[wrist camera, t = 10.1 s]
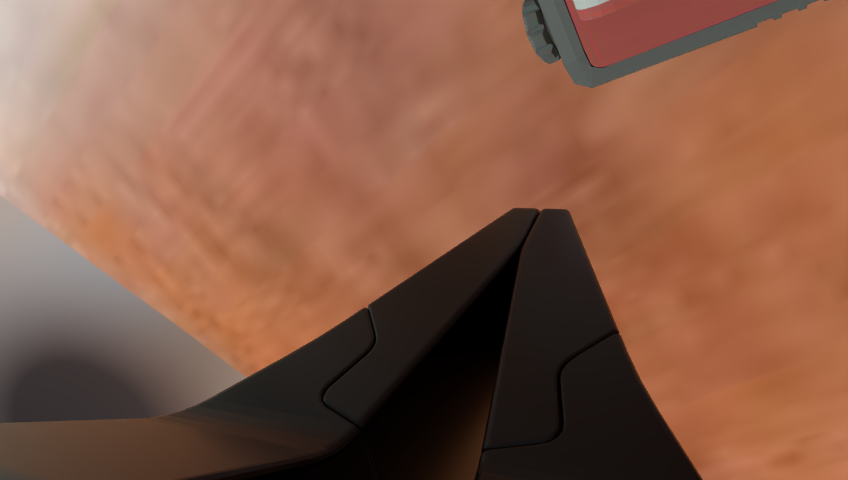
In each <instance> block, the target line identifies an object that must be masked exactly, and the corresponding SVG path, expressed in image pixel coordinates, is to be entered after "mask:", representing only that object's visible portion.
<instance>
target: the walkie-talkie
mask: <svg viewBox="0 0 848 480" xmlns="http://www.w3.org/2000/svg"><path fill="white" fill-rule="evenodd" d="M815 1H818V0H525V1H524V3H523V6H522V14H523V20H524V24H525V28H526V32H527V35H528V38H529V40H530V43H531V45H532V47H533V49H534V50H535V52H536V54H537V55H538V56H539V57H540V58H541V59H542V61H544V62H547V63H549V64H551V63H553V62H555V61H557V60H559V59H560V58H561V59H562V61H563V63H564V66H565V68H566V70H567V71H568V73H569V75H570V77H571V78H572V80H573V82H574V84H578V85H582V86H587V87H591V88H593V87H596V86H599V85H601V84H604V83H607V82H609V81H612V80H615V79H617V78H620V77H623V76H625V75H628V74H631V73H634V72H636V71H639V70H642V69H644V68H647V67H650V66H652V65H655V64H658V63H660V62H663V61H666V60H669V59H671V58H674V57H677V56H679V55H682V54H685V53H687V52H690V51H693V50H695V49H698V48H701V47H704V46H706V45H709V44H712V43H714V42H717V41H720V40H722V39H725V38H728V37H730V36H733V35H736V34H739V33H741V32H744V31H747V30H749V29H752V28H755V27H757V24H758V23H759V22H762V21H764V20H767V19H770V18H773V19H774V20H776V19H779V18H781V16H782V14H783V13H786V12H788V11H791V10H794V9H796V8H797V9H798V10H799V11H800V10H803V9H805V8H807V4H810V3H812V2H815ZM824 1H827V0H824Z"/></svg>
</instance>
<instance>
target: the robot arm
mask: <svg viewBox="0 0 848 480" xmlns="http://www.w3.org/2000/svg"><path fill="white" fill-rule="evenodd" d="M0 480H703V479H702V478H701V476H700V475H699V473H698V472H697V470H696V468H695V467H694V465H693V464H692V462H691V461H690V459H689V457H688V456H687V454H686V453H685V451H684V450H683V448H682V446H681V445H680V443H679V442H678V440H677V439H676V437H675V436H674V434H673V432H672V431H671V429H670V428H669V426H668V425H667V423H666V421H665V420H664V418H663V417H662V415H661V414H660V412H659V410H658V409H657V407H656V405H655V403H654V402H653V400H652V398H651V397H650V395H649V393H648V391H647V390H646V388H645V386H644V385H643V383H642V381H641V379H640V377H639V375H638V373H637V371H636V369H635V367H634V364H633V362H632V360H631V358H630V356H629V354H628V351H627V349H626V347H625V344H624V342H623V339H622V337H621V335H619V331H618V328H617V326H616V323H615V321H614V318H613V316H612V314H611V311H610V309H609V306H608V304H607V302H606V299H605V297H604V294H603V292H602V289H601V287H600V285H599V282H598V280H597V277H596V275H595V273H594V270H593V268H592V265H591V263H590V260H589V258H588V256H587V253H586V251H585V248H584V246H583V243H582V241H581V239H580V236H579V234H578V231H577V229H576V227H575V224H574V222H573V219H572V217H571V214H570V212H569V211H568V210H565V209H543V210H541V212H540V211H539V210H538V209H534V208H513V209H512V210H510V211H508V212H507V213H505V214H504V215H502V216H501V217H499V218H498V219H496V220H495V221H493V222H492V223H490V224H489V225H487V226H486V227H484V228H483V229H481V230H480V231H478V232H477V233H475V234H474V235H472V236H471V237H469V238H468V239H466V240H465V241H463V242H462V243H460V244H459V245H457V246H456V247H454V248H453V249H451V250H450V251H448V252H447V253H445V254H444V255H442V256H441V257H439V258H438V259H436V260H435V261H434V262H432V263H431V264H429V265H428V266H426V267H425V268H423V269H422V270H420V271H419V272H417V273H416V274H414V275H413V276H411V277H410V278H408V279H407V280H405V281H404V282H402V283H401V284H399V285H398V286H396V287H395V288H393V289H392V290H390V291H389V292H387V293H386V294H384V295H383V296H381V297H380V298H378V299H377V300H375V301H374V302H372V303H371V304H369V305H368V309H367V308H363V309H361V310H360V311H358V312H357V313H355V314H354V315H352V316H351V317H349V318H348V319H346V320H345V321H343V322H342V323H340V324H339V325H337V326H335V327H334V328H332V329H331V330H329V331H328V332H326V333H324V334H323V335H321V336H320V337H318V338H316V339H315V340H313V341H311V342H309V343H308V344H306V345H304V346H303V347H301V348H299V349H297V350H296V351H294V352H292V353H290V354H289V355H287V356H285V357H283V358H282V359H280V360H278V361H276V362H274V363H272V364H271V365H269V366H267V367H265V368H263V369H262V370H260V371H258V372H256V373H254V374H253V375H251V376H249V377H247V378H245V379H244V380H242V381H240V382H238V383H236V384H235V385H233V386H231V387H229V388H227V389H226V390H224V391H222V392H220V393H218V394H217V395H215V396H213V397H211V398H209V399H207V400H206V401H203V402H201V403H199V404H197V405H195V406H193V407H190V408H187V409H185V410H182V411H179V412H175V413H172V414H168V415H164V416H158V417H153V418H141V419H112V420H81V421H54V422H52V421H51V422H22V423H0Z"/></svg>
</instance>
